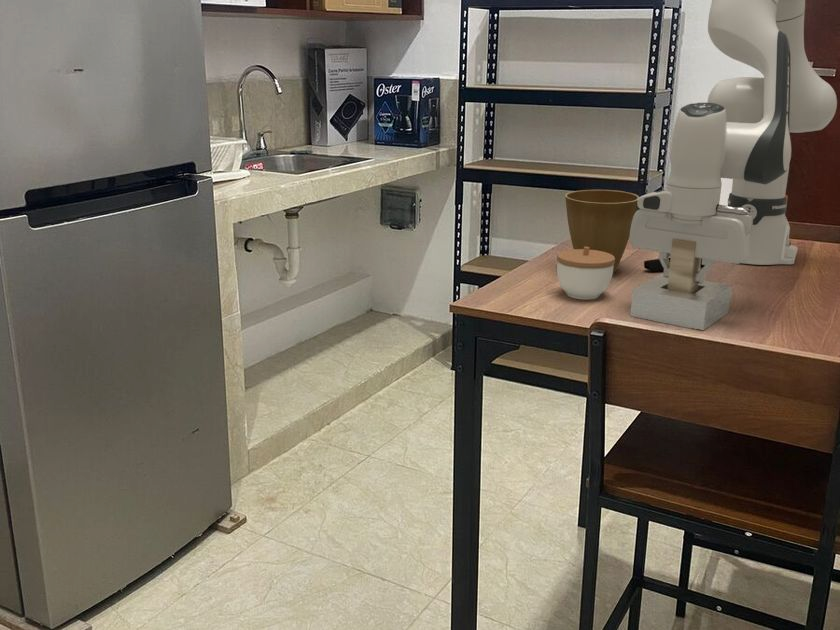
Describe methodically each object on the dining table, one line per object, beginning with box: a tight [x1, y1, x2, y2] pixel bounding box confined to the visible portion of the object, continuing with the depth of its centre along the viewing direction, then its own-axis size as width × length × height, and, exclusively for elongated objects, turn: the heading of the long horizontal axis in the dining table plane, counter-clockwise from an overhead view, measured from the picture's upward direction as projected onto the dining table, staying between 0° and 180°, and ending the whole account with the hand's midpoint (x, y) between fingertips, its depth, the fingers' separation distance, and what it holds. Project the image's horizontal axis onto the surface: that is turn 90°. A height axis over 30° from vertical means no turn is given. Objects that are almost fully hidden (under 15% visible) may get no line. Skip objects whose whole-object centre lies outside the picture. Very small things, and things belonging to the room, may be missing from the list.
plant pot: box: [564, 189, 640, 274], centre depth 176 cm, size 15×15×16 cm
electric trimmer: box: [643, 256, 705, 272], centre depth 180 cm, size 4×16×3 cm, turn 112°
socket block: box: [630, 273, 733, 331], centre depth 150 cm, size 13×13×5 cm
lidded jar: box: [556, 247, 615, 301], centre depth 160 cm, size 11×11×9 cm
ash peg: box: [667, 239, 701, 294], centre depth 148 cm, size 4×4×12 cm
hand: (683, 279), depth 148 cm, fingers closed on ash peg, 4 cm apart
